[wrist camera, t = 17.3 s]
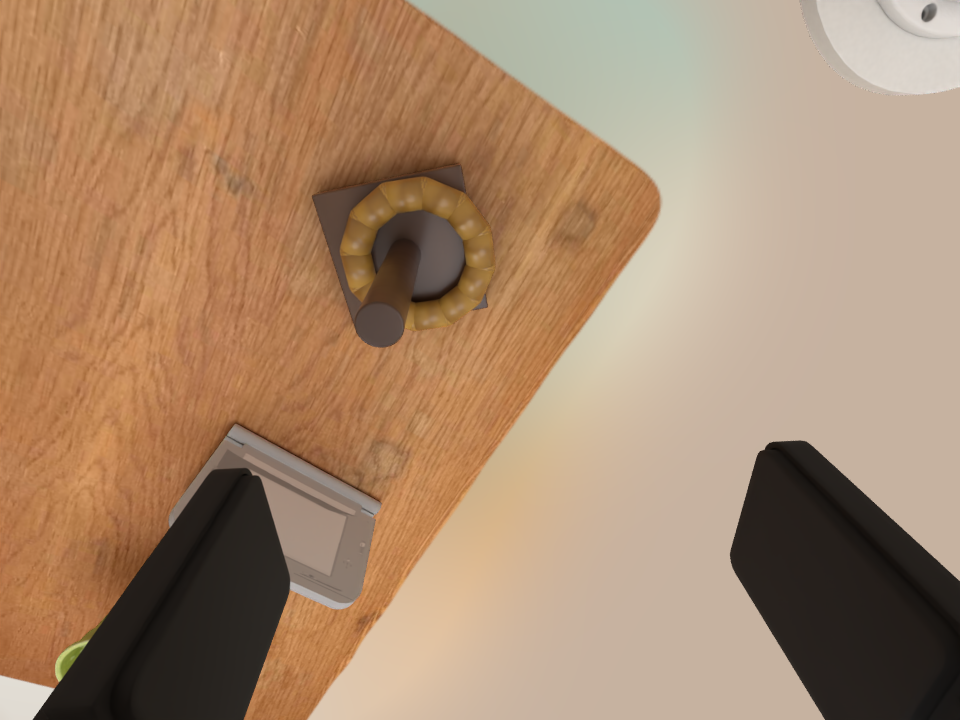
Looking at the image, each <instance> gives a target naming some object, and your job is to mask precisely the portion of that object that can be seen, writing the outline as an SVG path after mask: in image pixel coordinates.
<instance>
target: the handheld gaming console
mask: <svg viewBox="0 0 960 720" xmlns="http://www.w3.org/2000/svg"><path fill="white" fill-rule="evenodd" d="M230 468H248V469H249V470H250V471H251V473H252V475H258V476H259V477H260V478H261V480H262V483H263V486H264V490H265V493H266V497H267V500H268V503H269V507H270V510H271V513H272V517H273V520H274V523H275V527H276V530H277V534H278V537H279V540H280V544H281V547H282V550H283V554H284V557H285V560H286V564H287V567H288V571H289V574H290V590H292V591H294V592H296V593H299V594H301V595H303V596H305V597H307V598H310V599H312V600H314V601H316V602H319V603H321V604H323V605H325V606H328V607H330V608H333V609H344V608H347V607H349V606H350V605H351V604H352V603H353V602H354V601H355V600H356V599H357V598H358V597H359V596H360V594H361V591H362V587H363V582H364V577H365V572H366V567H367V562H368V556H369V551H370V546H371V541H372V536H373V531H374V526H375V520H376V519H374V518H372V517H373V516H374V514H377V513H378V511H379V510H380V508H381V505H382V503H381V502H379V501H377V500H375V499H373V498H371V497H370V496H368V495H366V494H364V493H362V492H360V491H359V490H357V489H355V488H353V487H351V486H349V485H348V484H346V483H344V482H342V481H340V480H338V479H337V478H335V477H333V476H331V475H329V474H327V473H326V472H324V471H322V470H320V469H318V468H316V467H315V466H313V465H311V464H309V463H307V462H305V461H304V460H302V459H300V458H298V457H296V456H294V455H293V454H291V453H289V452H287V451H285V450H283V449H282V448H280V447H278V446H276V445H274V444H272V443H271V442H269V441H267V440H265V439H263V438H261V437H260V436H258V435H256V434H254V433H252V432H250V431H249V430H247V429H245V428H243V427H241V426H239V425H238V424H236V423H235V424H234V426H233V427H232V429H231V430H230V431H229V433H228V434H227V436H226V437H225V438H224V440H223V441H222V442H221V444H220V445H219V446H218V448H217V449H216V451H215V452H214V453H213V455H212V456H211V457H210V459H209V460H208V461H207V463H206V464H205V466H204V467H203V468H202V470H201V471H200V472H199V474H198V475H197V476H196V478H195V479H194V481H193V482H192V483H191V485H190V486H189V487H188V489H187V490H186V491H185V493H184V494H183V495H182V497H181V498H180V500H179V501H178V502H177V504H176V505H175V507H174V508H173V509H172V511H171V513H170V515H169V526H170V527H171V526H172V524H173V523H174V522H175V520H176V519H177V517H178V516H179V515H180V513H181V512H182V510H183V509H184V508H185V506H186V505H187V503H188V502H189V501H190V499H191V498H192V496H193V495H194V494H195V492H196V491H197V489H198V488H199V487H200V485H201V484H202V482H203V481H204V480H205V478H206V477H207V475H208V474H209V473H210V472H211V471H212V470H215V469H230Z"/></svg>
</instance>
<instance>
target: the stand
mask: <svg viewBox="0 0 960 720" xmlns="http://www.w3.org/2000/svg"><path fill="white" fill-rule="evenodd" d="M415 177H428V178H431V179H433V180H436V181H438V182H440V183H443V184H445V185H448V186H450V187H452V188H455V189H457V190H459V191H462V192H463V193H465V194H466V189H465V184H464V179H463V173H462V168H461V164H460V163H458V164H453V165H448V166H443V167H439V168H434V169H429V170H424V171H419V172H414V173H410V174H405V175H400V176H395V177H390V178H385V179H381V180H376V181H371V182H366V183H361V184H356V185H352V186H347V187H342V188H337V189H332V190H328V191H323V192H318V193H316V194H314V195H312V198H313V201H314V204H315V207H316V211H317V214H318V217H319V220H320V223H321V226H322V229H323V232H324V235H325V238H326V241H327V244H328V247H329V250H330V253H331V256H332V259H333V262H334V265H335V269H336V272H337V275H338V278H339V281H340V284H341V287H342V290H343V293H344V296H345V299H346V302H347V305H348V308H349V311H350V314H351V317H352V320H353V323H354V327H355V330H356V332H357V334H358V336H359V337H360V338H361V339H362V340H363V341H364V342H365V343H367V344H369V345H371V346H374V347H388V346H391V345H393V344H395V343H396V342H397V341H398V340H399V339H400V338H401V337H402V335H403V332H404V328H405V324H406V320H407V315H408V311H409V307H410V303H411V301H413V302H415V303H417V302H424V301H431V300H438V299H440V298H442V297H443V296H444V295H445V294H447V293H448V292H449V291H450V290H452V289H453V288H454V287H456V286H457V285H458V282H459V280H460V277H461V275H462V272H463V270H464V267H465V265H466V260H465V254H464V247H463V240H462V239H461V237H460V236H459V235H458V234H457V232H456V231H455V230H454V228H453V227H452V226H451V225H450V223H449V222H448V221H447V220H446V219H444V218H441V217H439V216H436V215H434V214H431V213H429V212H426V211H424V210H418V211H412V212H405V213H399V214H396V215H395V216H394V217H393V218H391V219H390V220H389V221H388V222H387V223H386V224H384V225H383V226H382V227H381V228H380V229H379V230H378V232H377V235H376V238H375V242H374V245H373V248H372V251H371V255H372V259H373V263H374V267H375V272H376V277H375V279H374V280H373V282H372V284H371V286H370V288H369V290H368V292H367V294H366V296H365V298H364V300H363V302H361V301H360V300H359V299H358V298H357V297H356V296H355V295H354V294H353V293H352V292H351V290H350V288H349V286H348V282H347V278H346V274H345V271H344V267H343V263H342V260H341V256H340V246H341V242H342V238H343V235H344V231H345V228H346V224H347V221H348V217H349V214H350V212H351V210H352V209H353V208H354V207H355V206H356V205H357V204H358V203H360V202H361V201H362V200H363V199H364V198H365V197H366V196H367V195H369V194H370V193H371V192H372V191H373V190H374V189H375V188H376V187H378V186H379V185H380V184H382V183H384V182H389V181H395V180H402V179H408V178H415ZM466 195H467V194H466ZM487 307H488V304H487V299H486V294H484V297H483V299H482V301H481V303H480V304H479V305H478V306H476V307H475V308H474V309H472V310H477V309H482V308H487ZM472 310H471V311H472Z"/></svg>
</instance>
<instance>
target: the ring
mask: <svg viewBox="0 0 960 720" xmlns="http://www.w3.org/2000/svg"><path fill="white" fill-rule="evenodd" d="M418 210H424V211H426V212H429V213H431V214H434V215H436V216H439V217H441V218H444V219H446V220H447V221H448V222H449V223H450V225H451V226H452V227H453V228H454V230H455V231H456V232H457V234H458V235H459V236H460V237H461V239H462V240H463V247H464V254H465V260H466V265H465V267H464V270H463V272H462V275H461V277H460V280H459V282H458V285H457V286H456V287H454V288H453V289H452V290H450V291H449V292H448V293H447V294H445V295H444V296H443V297H442V298H440V299H438V300H431V301H424V302H417V303H415V302H413V301H411V303H410V307H409V311H408V315H407V320H406V324H405V329H408V330H411V331H420V330H427V329H433V328H440V327H447V326H450V325H452V324H454V323H455V322H457V321H458V320H459V319H461V318H462V317H463V316H464V315H466V314H467V313H468V312H470V311H471V310H472V309H474V308H475V307H476V306H478V305H479V304H480V303H481V301H482V299H483V297H484V294H485V292H486V290H487V287H488V285H489V283H490V280H491V278H492V275H493V273H494V271H495V256H494V248H493V240H492V232H491V228H490V225H489V224H488V223H487V221H486V220H485V219H484V217H483V216H482V215H481V213H480V212H479V211H478V209H477V208H476V207H475V205H474V204H473V203H472V201H471V200H470V199H469V197H468V196H467V195H466V194H465V193H463V192H462V191H459V190H457V189H455V188H452V187H450V186H448V185H445V184H443V183H440V182H438V181H436V180H433V179H431V178H428V177H415V178H408V179H402V180H395V181H389V182H384V183H382V184H380V185H379V186H378V187H376V188H375V189H374V190H373V191H372V192H371V193H370V194H369V195H367V196H366V197H365V198H364V199H363V200H362V201H361V202H360V203H358V204H357V205H356V206H355V207H354V208H353V209H352V210H351V212H350V214H349V217H348V221H347V224H346V228H345V231H344V235H343V238H342V242H341V246H340V256H341V260H342V263H343V267H344V271H345V274H346V278H347V282H348V286H349V288H350V290H351V292H352V293H353V294H354V295H355V296H356V297H357V298H358V299H359V300H360V301H361V302H363V300H364V298H365V296H366V294H367V292H368V290H369V288H370V286H371V284H372V282H373V280H374V279H375V277H376V272H375V267H374V263H373V259H372V255H371V251H372V248H373V245H374V242H375V238H376V235H377V232H378V230H379V229H380V228H381V227H382V226H383V225H384V224H386V223H387V222H388V221H389V220H390V219H391V218H393V217H394V216H395V215H396V214H399V213H405V212H412V211H418Z"/></svg>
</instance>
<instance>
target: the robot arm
mask: <svg viewBox="0 0 960 720" xmlns="http://www.w3.org/2000/svg"><path fill="white" fill-rule="evenodd" d="M877 1H878V3H879V4H880V6H881V7H882V9H883V10H884V12H885V13H886V14H887V16H888V17H889V18H890V19H891V20H892V21H893V22H894V23H896V24H897V25H898V26H899V27H900V28H902V29H903V30H905V31H908V32H910V33H912V34H915V35H917V36H920V37H927V38H934V39H940V38H950V37H958V36H960V0H877ZM730 559H731V564H732V567H733V569H734V571H735V573H736V575H737V577H738V578H739V580H740V582H741V583H742V585H743V586H744V588H745V590H746V591H747V593H748V595H749V596H750V598H751V599H752V601H753V603H754V604H755V606H756V608H757V609H758V611H759V613H760V614H761V616H762V617H763V619H764V621H765V622H766V624H767V626H768V627H769V629H770V631H771V632H772V634H773V635H774V637H775V639H776V640H777V642H778V644H779V645H780V647H781V648H782V650H783V652H784V653H785V655H786V657H787V658H788V660H789V662H790V663H791V665H792V666H793V668H794V670H795V671H796V673H797V675H798V676H799V678H800V680H801V681H802V683H803V684H804V686H805V688H806V689H807V691H808V692H809V694H810V696H811V697H812V699H813V701H814V702H815V704H816V706H817V707H818V709H819V711H820V712H821V713H822V715H823V717H824V719H825V720H960V581H959V580H958V579H957V578H956V577H954V576H953V575H952V574H951V573H950V572H949V571H948V570H947V569H946V568H945V567H943V565H941V564H940V563H939V562H938V561H937V560H936V559H935V558H934V557H933V556H932V555H930V554H929V553H928V552H927V551H926V550H925V549H924V548H923V547H922V546H921V545H920V544H919V543H917V542H916V541H915V540H914V539H913V538H912V537H911V536H910V535H909V534H907V532H905V531H904V530H903V529H902V528H901V527H900V526H899V525H898V524H897V523H896V522H895V521H893V520H892V519H891V518H890V517H889V516H888V515H887V514H886V513H885V512H884V511H882V510H881V509H880V508H879V507H878V506H877V505H876V504H875V503H874V502H873V501H872V500H871V499H869V498H868V497H867V496H866V495H865V494H864V493H863V492H862V491H861V490H860V489H858V488H857V487H856V486H855V485H854V484H853V483H852V482H851V481H850V480H849V479H848V478H847V477H846V476H844V475H843V474H842V473H841V472H840V471H839V470H838V469H837V468H836V467H835V466H834V465H832V464H831V463H830V462H829V461H828V460H827V459H826V458H825V457H823V455H822V454H820V453H819V452H818V451H817V450H816V449H815V448H814V447H813V446H811V445H810V444H809V443H807V442H805V441H784V442H783V441H782V442H772V443H769V444H768V445H767V446H766V448H765V450H763V451H760V452H759V453H758V455H757V458H756V461H755V465H754V469H753V472H752V476H751V479H750V483H749V486H748V490H747V494H746V497H745V501H744V504H743V508H742V512H741V515H740V519H739V522H738V526H737V529H736V533H735V537H734V540H733V544H732V548H731V552H730ZM289 590H290V574H289V571H288V567H287V564H286V560H285V557H284V554H283V550H282V547H281V544H280V540H279V537H278V534H277V530H276V527H275V523H274V520H273V517H272V513H271V510H270V507H269V503H268V500H267V497H266V493H265V490H264V486H263V483H262V480H261V478H260V477H259V476H258V475H252V473H251V471H250V470H249V469H248V468H230V469H215V470H212V471H211V472H210V473H209V474H208V475H207V477H206V478H205V480H204V481H203V482H202V484H201V485H200V487H199V488H198V489H197V491H196V492H195V494H194V495H193V496H192V498H191V499H190V501H189V502H188V503H187V505H186V506H185V508H184V509H183V510H182V512H181V513H180V515H179V516H178V517H177V519H176V520H175V522H174V523H173V524H172V526H171V527H170V529H169V530H168V531H167V533H166V534H165V536H164V537H163V539H162V540H161V541H160V543H159V544H158V546H157V547H156V548H155V550H154V551H153V553H152V554H151V555H150V557H149V558H148V559H147V560H146V562H145V563H144V565H143V566H142V567H141V569H140V570H139V572H138V573H137V574H136V576H135V577H134V579H133V580H132V581H131V583H130V584H129V586H128V587H127V588H126V590H125V591H124V593H123V594H122V595H121V597H120V598H119V600H118V601H117V602H116V604H115V605H114V607H113V608H112V609H111V611H110V612H109V614H108V615H107V616H106V618H105V619H104V621H103V622H102V623H101V625H100V626H99V628H98V629H97V630H96V632H95V633H94V635H93V636H92V637H91V639H90V640H89V642H88V643H87V644H86V646H85V647H84V649H83V650H82V651H81V653H80V654H79V656H78V657H77V658H76V660H75V661H74V663H73V664H72V665H71V667H70V668H69V670H68V671H67V672H66V674H65V675H64V677H63V678H62V679H61V681H60V682H59V684H58V685H57V686H56V688H55V689H54V691H53V692H52V693H51V695H50V696H49V698H48V699H47V700H46V702H45V703H44V705H43V706H42V707H41V709H40V710H39V712H38V713H37V714H36V716H35V717H34V719H33V720H244V717H245V714H246V711H247V709H248V706H249V703H250V700H251V698H252V695H253V692H254V689H255V687H256V684H257V681H258V678H259V675H260V673H261V670H262V667H263V664H264V662H265V659H266V656H267V653H268V651H269V648H270V645H271V642H272V640H273V637H274V634H275V631H276V628H277V626H278V623H279V620H280V617H281V615H282V612H283V609H284V606H285V604H286V601H287V598H288V595H289Z"/></svg>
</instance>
